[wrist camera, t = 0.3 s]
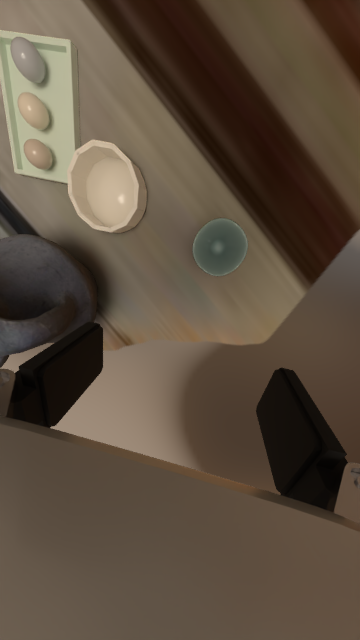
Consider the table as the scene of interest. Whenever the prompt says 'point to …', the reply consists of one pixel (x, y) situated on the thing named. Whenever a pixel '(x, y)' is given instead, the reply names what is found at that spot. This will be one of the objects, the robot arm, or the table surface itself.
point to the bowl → (106, 187)
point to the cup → (220, 247)
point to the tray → (55, 95)
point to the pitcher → (41, 294)
